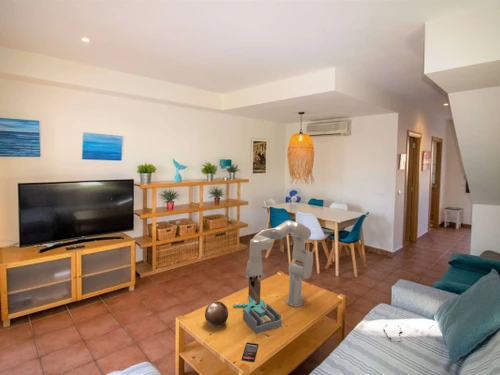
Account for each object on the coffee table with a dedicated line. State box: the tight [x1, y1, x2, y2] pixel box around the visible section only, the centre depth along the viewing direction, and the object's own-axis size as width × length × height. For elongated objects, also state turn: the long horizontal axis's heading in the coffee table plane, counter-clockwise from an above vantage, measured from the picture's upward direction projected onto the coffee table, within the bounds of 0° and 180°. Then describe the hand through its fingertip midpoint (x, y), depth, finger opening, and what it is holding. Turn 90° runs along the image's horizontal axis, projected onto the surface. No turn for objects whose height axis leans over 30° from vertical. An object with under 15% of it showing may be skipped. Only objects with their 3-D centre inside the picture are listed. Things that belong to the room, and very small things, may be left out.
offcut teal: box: [254, 307, 266, 317], centre depth 193 cm, size 5×6×3 cm
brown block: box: [248, 276, 262, 303], centre depth 185 cm, size 2×12×14 cm, turn 28°
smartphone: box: [240, 342, 259, 363], centre depth 162 cm, size 7×1×15 cm
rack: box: [242, 303, 283, 334], centre depth 190 cm, size 19×18×7 cm
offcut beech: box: [260, 315, 271, 324], centre depth 187 cm, size 6×6×5 cm
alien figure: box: [232, 295, 267, 313], centre depth 210 cm, size 20×2×20 cm
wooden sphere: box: [204, 301, 229, 328], centre depth 186 cm, size 15×15×15 cm
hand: (254, 285), depth 185 cm, fingers closed on brown block, 2 cm apart
